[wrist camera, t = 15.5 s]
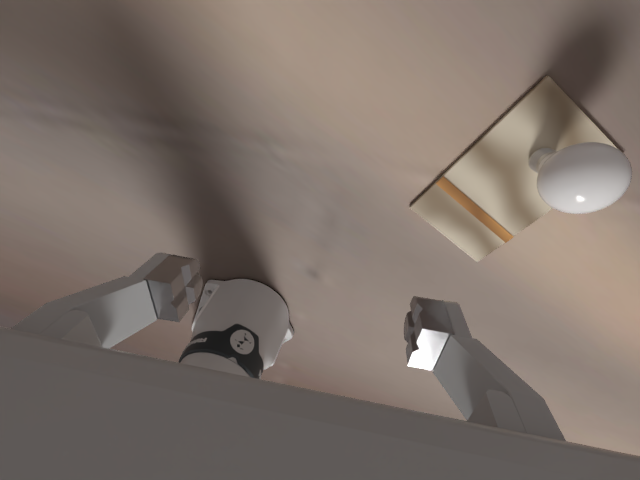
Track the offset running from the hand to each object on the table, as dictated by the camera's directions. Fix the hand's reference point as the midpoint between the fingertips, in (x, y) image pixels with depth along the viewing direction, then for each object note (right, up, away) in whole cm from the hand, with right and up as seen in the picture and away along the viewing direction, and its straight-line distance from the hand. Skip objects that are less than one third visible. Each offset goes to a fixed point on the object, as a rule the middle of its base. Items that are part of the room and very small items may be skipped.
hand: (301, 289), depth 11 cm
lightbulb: (+26, +11, +22) cm, 36 cm away
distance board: (+23, +9, +24) cm, 35 cm away
